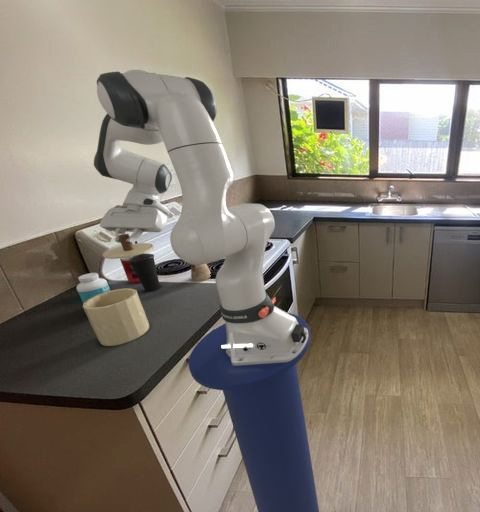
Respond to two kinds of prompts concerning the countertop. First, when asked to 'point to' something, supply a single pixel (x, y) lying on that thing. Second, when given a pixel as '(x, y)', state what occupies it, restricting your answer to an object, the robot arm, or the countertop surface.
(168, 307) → the countertop surface
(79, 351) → the countertop surface
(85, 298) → the pill bottle
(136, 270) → the drinking cup
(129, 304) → the beige canister
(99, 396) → the countertop surface
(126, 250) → the lid
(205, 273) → the figurine
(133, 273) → the canned food
